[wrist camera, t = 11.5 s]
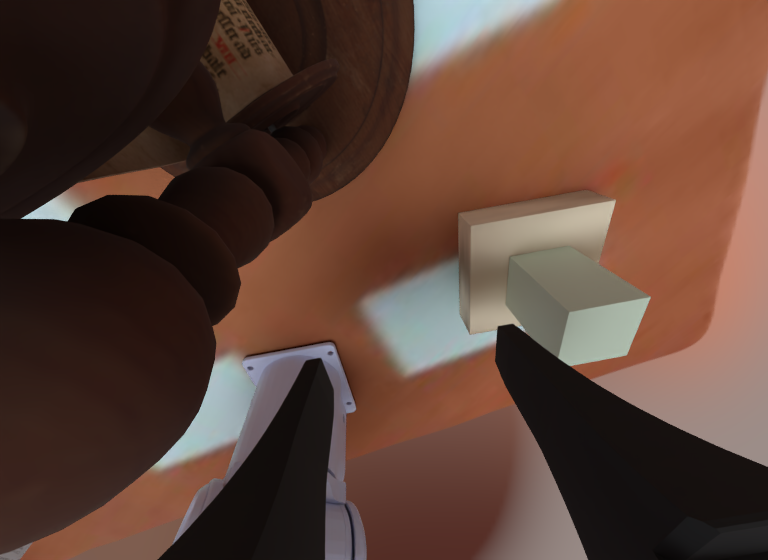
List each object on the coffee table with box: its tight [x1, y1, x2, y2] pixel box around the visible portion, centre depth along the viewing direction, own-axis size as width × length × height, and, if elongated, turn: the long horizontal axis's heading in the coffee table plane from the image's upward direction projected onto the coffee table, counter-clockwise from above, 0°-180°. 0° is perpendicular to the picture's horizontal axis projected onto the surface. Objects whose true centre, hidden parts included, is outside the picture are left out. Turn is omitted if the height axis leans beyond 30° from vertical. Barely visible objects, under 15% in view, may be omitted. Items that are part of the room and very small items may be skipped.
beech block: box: [458, 190, 616, 335], centre depth 21 cm, size 9×9×3 cm
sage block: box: [506, 246, 651, 366], centre depth 17 cm, size 4×4×6 cm
